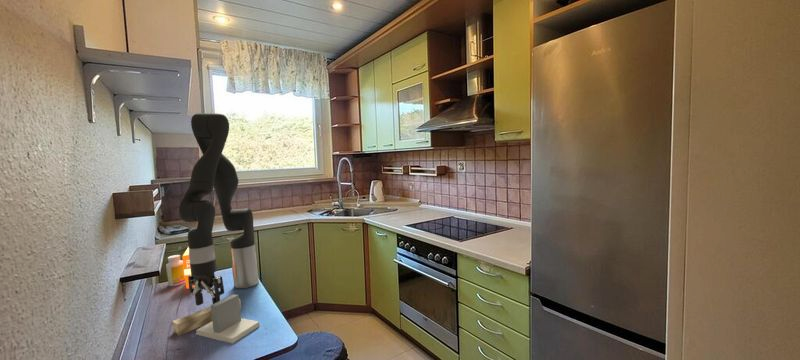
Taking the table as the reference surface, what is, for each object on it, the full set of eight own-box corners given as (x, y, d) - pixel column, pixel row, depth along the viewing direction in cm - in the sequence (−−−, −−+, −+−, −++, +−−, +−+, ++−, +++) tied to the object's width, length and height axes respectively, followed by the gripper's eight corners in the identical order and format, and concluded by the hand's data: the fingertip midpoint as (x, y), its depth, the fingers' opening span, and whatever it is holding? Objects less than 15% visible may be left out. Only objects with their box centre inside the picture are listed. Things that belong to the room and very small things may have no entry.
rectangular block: (178, 336, 103) (177, 324, 102) (174, 333, 105) (172, 321, 105) (241, 309, 118) (240, 299, 118) (236, 307, 121) (234, 296, 120)
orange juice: (186, 288, 142) (180, 243, 140) (190, 281, 150) (185, 239, 148) (206, 284, 144) (201, 240, 143) (209, 278, 153) (204, 236, 151)
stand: (196, 334, 102) (192, 304, 102) (225, 318, 111) (221, 290, 111) (232, 343, 96) (228, 311, 95) (259, 326, 105) (256, 296, 104)
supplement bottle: (189, 281, 151) (186, 254, 150) (177, 286, 145) (173, 258, 143) (178, 280, 152) (174, 253, 151) (164, 286, 146) (161, 258, 145)
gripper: (227, 257, 110) (232, 303, 111) (199, 254, 116) (204, 299, 117) (206, 264, 103) (212, 313, 105) (177, 261, 109) (183, 308, 110)
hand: (208, 305), depth 111 cm, fingers open, 8 cm apart
